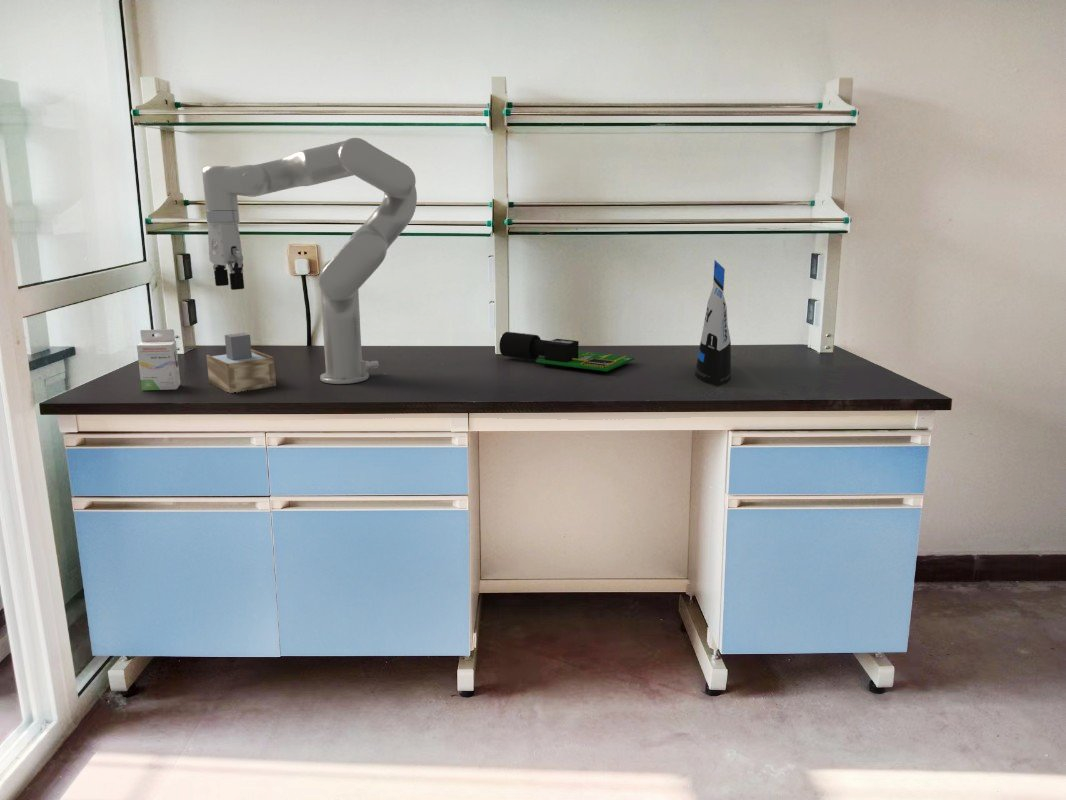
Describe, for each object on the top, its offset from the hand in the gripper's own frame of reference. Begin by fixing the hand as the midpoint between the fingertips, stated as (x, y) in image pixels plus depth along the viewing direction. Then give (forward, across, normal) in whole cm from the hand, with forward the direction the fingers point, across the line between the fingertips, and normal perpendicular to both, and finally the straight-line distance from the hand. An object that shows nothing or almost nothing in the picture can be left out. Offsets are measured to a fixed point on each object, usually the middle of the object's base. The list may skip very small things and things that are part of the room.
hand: (229, 287), depth 208 cm
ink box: (+25, -9, -16) cm, 32 cm away
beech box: (+25, +1, 0) cm, 25 cm away
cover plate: (+19, +1, 0) cm, 19 cm away
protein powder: (+26, +76, +100) cm, 128 cm away
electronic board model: (+26, +38, +81) cm, 93 cm away
